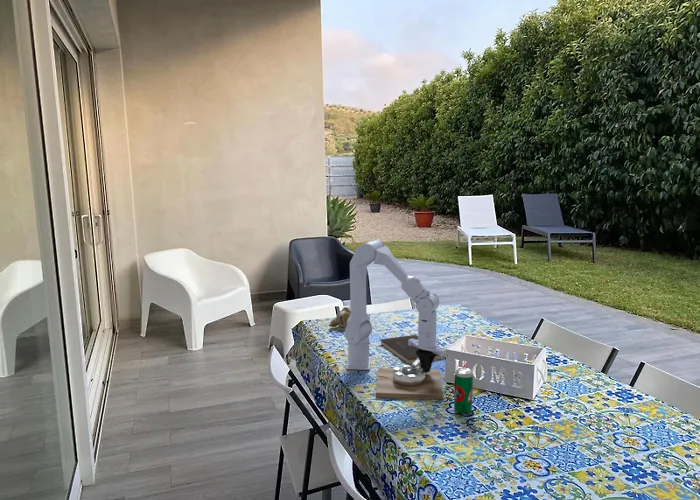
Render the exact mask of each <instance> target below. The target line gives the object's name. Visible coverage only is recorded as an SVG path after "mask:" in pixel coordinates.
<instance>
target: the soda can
mask: <svg viewBox="0 0 700 500" xmlns="http://www.w3.org/2000/svg"><path fill="white" fill-rule="evenodd" d="M473 394H474V374H473V371H472V370H471V369H470V368H464V367H460V368H457V369H456V372H455V374H454V394H453V396H454V398H453V411H454V412H456V413H458V414H460V415H467V414H470V413H472V411H473Z"/></svg>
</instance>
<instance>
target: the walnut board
mask: <svg viewBox="0 0 700 500" xmlns="http://www.w3.org/2000/svg"><path fill="white" fill-rule="evenodd" d="M394 368H395V367H378V368H377V378H376V388H375V398H382V399H383V398H385V399H406V400H407V399H410V400H411V399H412V400H414V399H415V400H437V401H438V400H439V401H442V400H444V392H443V391H444V390H443V387H442V380H441V376H440V370H439V369H430V372H427V373H425V382H424V383H423V384H421V385H418V386H402V385H399V384H396V383H395V382H394V381H393V369H394Z"/></svg>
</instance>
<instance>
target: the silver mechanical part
mask: <svg viewBox="0 0 700 500" xmlns="http://www.w3.org/2000/svg"><path fill="white" fill-rule="evenodd" d="M393 368H394V369H393V381H394V382H395V383H396V384H399V385H402V386H418V385H421V384H423V383H424V382H425V372H424V371H423V368H422V367H421V363H420V360H419V358H417V359H416V361H415V362H414V363H411V365H410V364H404V365H402V366H399V367H396V366H395V367H393Z"/></svg>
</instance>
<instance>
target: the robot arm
mask: <svg viewBox="0 0 700 500" xmlns="http://www.w3.org/2000/svg"><path fill="white" fill-rule="evenodd" d="M372 263H373V264H375V265H379V266H381V265H382V266H384V267H385V268H386V269H387V270H388V271H389V272H390V273H391V274H392V275H393V276H394V277H395V278H396V279H397V280H399V282H400V283H401V285H400V286H401V289H402V290H403V291H404V292H405V294H406V295H407V296H408V298H410V299H411V301H412V302H413V303H414V304H415V308H416V310H417V312H418V322H417V323H418V328H417V336H418V340H417V339H413V338H412V339H409V345H410V346H415V347H418V348H419V349H418V350H417V351H416V354H417V356H418V358H419V360H420V363H421V367H422V368H423V371H424V372H425V373H427V372H430V369H431V368H432V365H433V362H434V361H435V360H434V358H435V357H436V355H440V357H443V356H446V354H447V349H445V348H443V347H441V346H440V345H438V342H437V309H438V308H439V305H440V299H439V297H438V296H437V294H436V293H434V292H431V290H430V289H427V288H426V286H424V284H422V283H421V279H420V278H419V277H416V276H414V275H409V273H408V271H406V270H405V268H404V267H403V266H402V264H401V263H400V262H399V261H398V260H397V258H395V256H394V255H393V254H392V252H391V250H390V248H389V247H388V246H387V245H385V243H384V242H383V241H382V240H381V239H374V240H371V241H367V242H365V243H364V242H363V243H362V244H360V245H359V246H357V247H356V248H355V250H354V254H353V255H352V258H351V260H350V262H349V279H350V280H349V288H350V290H349V292H350V295H349V298H350V299H349V300H350V306H351V314H350V316H349V318H348V320H347V327H346V328H345V330H344V338H345V339H346V341H347V362H346V367H345V369H346V370H357V371H359V370H360V371H369V370H370V368H371V363H372V361H371V360H372V359H371V358H370V335H371V334H372V332H373V326H372V323H371V321H370V319H371V318H370V315H369V314H368V312H367V267H369V266H370V265H371V264H372Z"/></svg>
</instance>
